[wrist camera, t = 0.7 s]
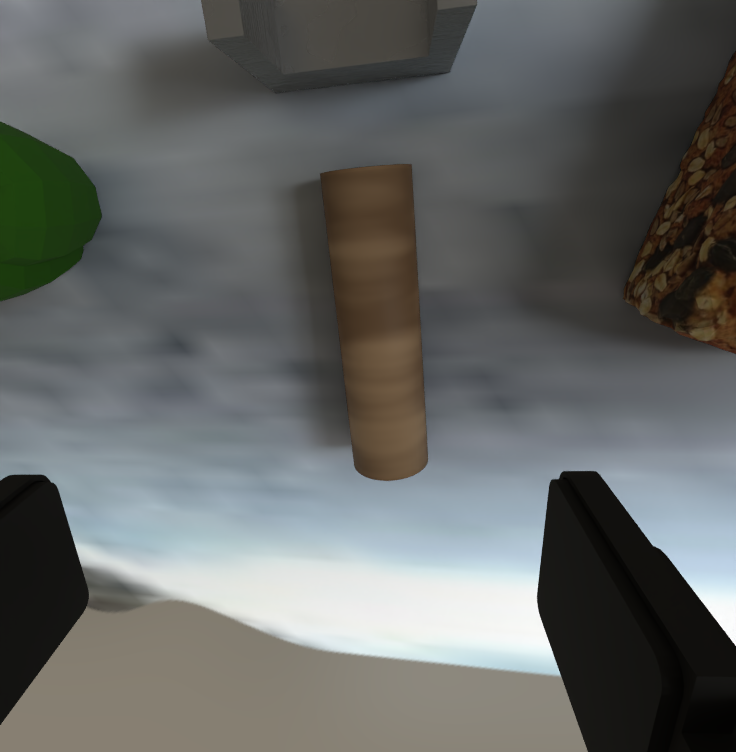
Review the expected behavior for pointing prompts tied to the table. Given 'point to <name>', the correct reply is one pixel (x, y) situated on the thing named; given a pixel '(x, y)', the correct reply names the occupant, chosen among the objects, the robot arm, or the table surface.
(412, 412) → the brown cylinder
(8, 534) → the robot arm
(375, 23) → the saddle bracket
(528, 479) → the table surface
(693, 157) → the bread
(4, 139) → the bell pepper
